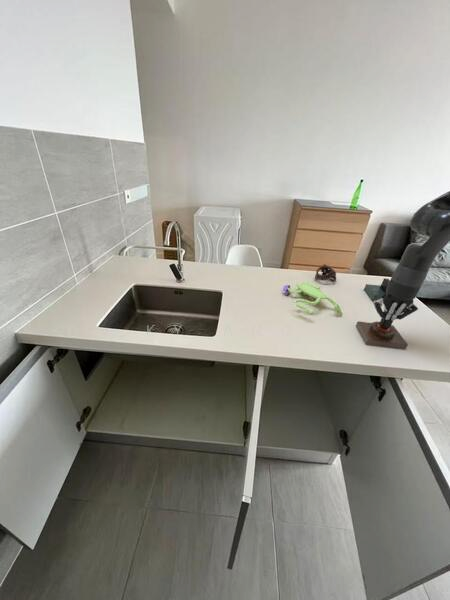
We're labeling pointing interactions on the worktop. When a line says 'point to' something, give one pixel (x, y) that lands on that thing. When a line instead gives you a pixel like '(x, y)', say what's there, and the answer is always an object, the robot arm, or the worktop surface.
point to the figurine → (312, 292)
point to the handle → (384, 284)
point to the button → (382, 329)
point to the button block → (380, 336)
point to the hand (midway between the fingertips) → (383, 327)
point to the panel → (374, 291)
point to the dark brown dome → (324, 269)
